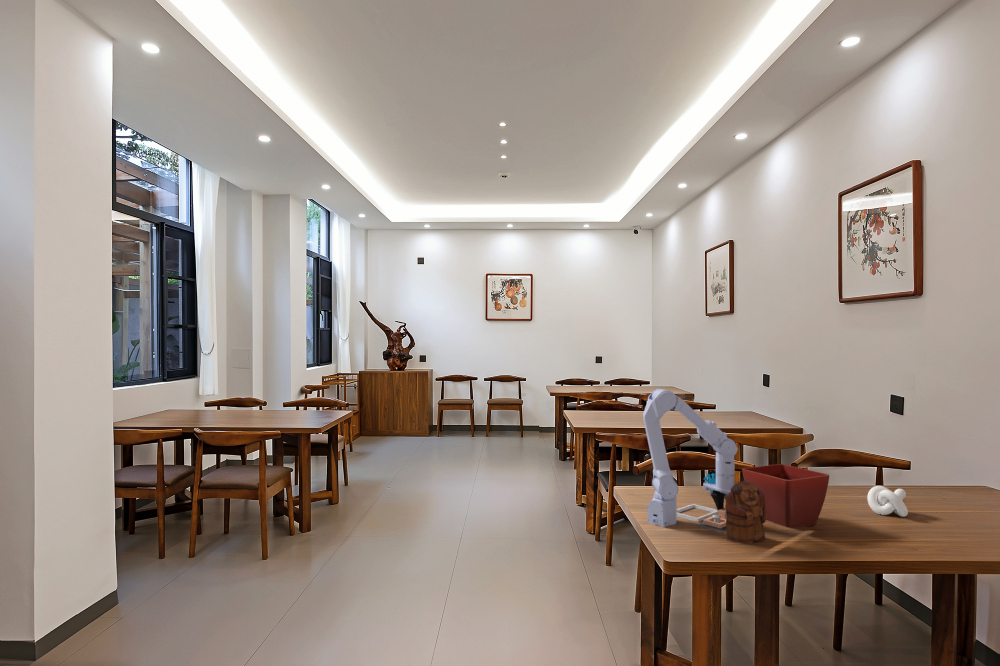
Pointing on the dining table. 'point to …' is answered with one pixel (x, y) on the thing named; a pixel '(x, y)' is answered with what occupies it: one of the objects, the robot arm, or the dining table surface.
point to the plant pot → (789, 493)
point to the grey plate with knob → (716, 519)
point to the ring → (721, 521)
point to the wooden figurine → (745, 514)
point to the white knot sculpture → (887, 501)
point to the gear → (710, 479)
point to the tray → (714, 511)
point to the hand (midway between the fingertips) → (725, 516)
